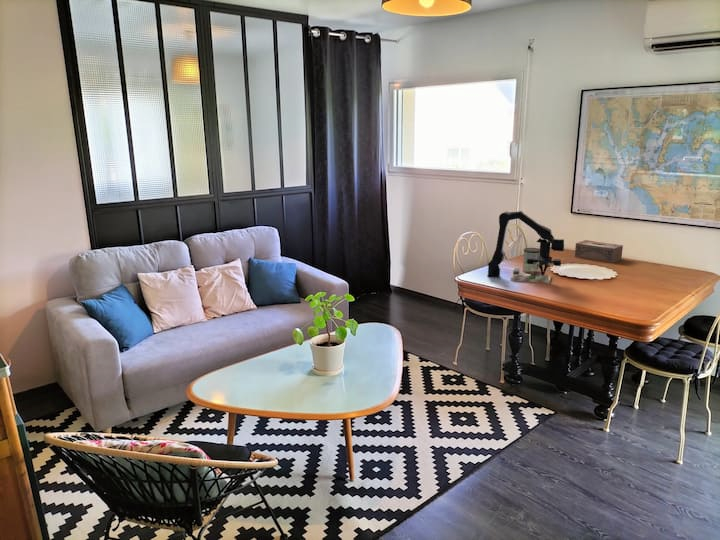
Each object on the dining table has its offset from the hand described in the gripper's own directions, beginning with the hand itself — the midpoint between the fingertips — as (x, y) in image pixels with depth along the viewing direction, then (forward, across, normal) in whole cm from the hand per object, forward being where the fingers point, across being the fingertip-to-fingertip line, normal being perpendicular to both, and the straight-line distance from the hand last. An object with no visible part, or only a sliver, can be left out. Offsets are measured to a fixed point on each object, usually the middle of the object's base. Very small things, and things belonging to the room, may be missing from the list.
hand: (542, 275), depth 305 cm
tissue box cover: (+3, +33, +69) cm, 77 cm away
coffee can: (+3, -8, +20) cm, 22 cm away
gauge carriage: (+1, -6, -1) cm, 6 cm away
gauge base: (+3, -7, +1) cm, 7 cm away
